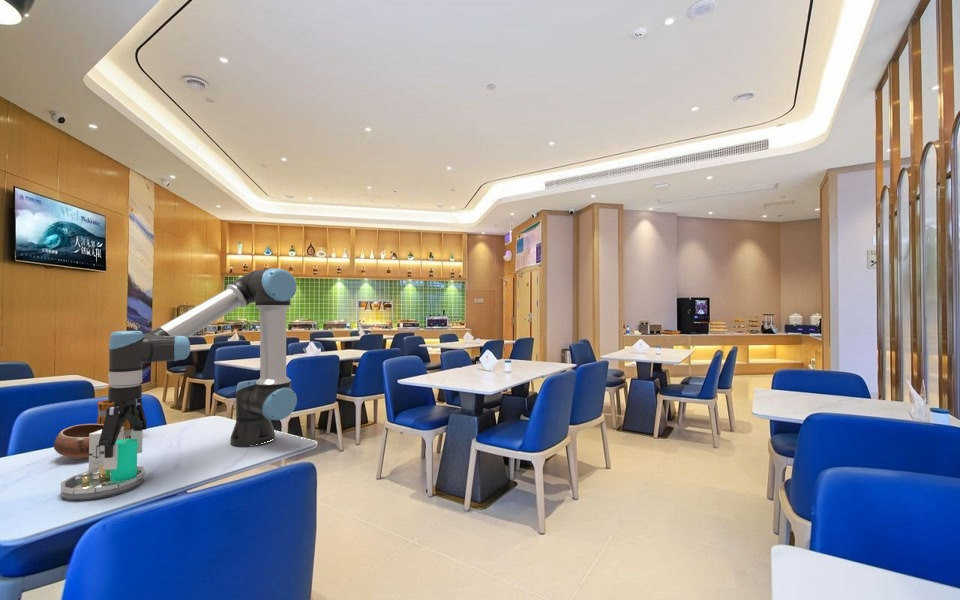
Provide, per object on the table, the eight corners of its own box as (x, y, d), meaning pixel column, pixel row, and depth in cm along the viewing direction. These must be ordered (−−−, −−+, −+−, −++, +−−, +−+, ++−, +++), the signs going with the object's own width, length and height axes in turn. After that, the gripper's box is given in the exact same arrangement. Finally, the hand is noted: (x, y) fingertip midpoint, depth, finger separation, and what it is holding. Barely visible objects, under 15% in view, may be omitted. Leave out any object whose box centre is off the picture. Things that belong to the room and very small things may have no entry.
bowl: (72, 467, 143) (73, 435, 143) (42, 461, 148) (43, 430, 148) (126, 452, 157) (126, 423, 157) (97, 447, 163) (97, 419, 163)
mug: (136, 443, 168) (137, 402, 168) (90, 447, 162) (90, 405, 163) (148, 429, 186) (149, 393, 186) (107, 433, 180) (107, 395, 180)
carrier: (155, 473, 138) (156, 453, 138) (123, 498, 120) (124, 475, 121) (86, 478, 134) (87, 457, 134) (43, 504, 116) (43, 480, 117)
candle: (122, 483, 125) (123, 439, 125) (104, 481, 126) (105, 438, 126) (142, 475, 131) (143, 433, 131) (124, 473, 132) (125, 432, 132)
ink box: (107, 462, 148) (108, 425, 148) (124, 461, 148) (124, 425, 148) (87, 471, 139) (88, 433, 139) (104, 471, 140) (105, 433, 140)
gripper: (133, 378, 140) (131, 447, 140) (82, 394, 116) (80, 477, 115) (160, 378, 142) (159, 446, 141) (116, 393, 117) (114, 475, 117)
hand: (124, 460), depth 128 cm, fingers open, 13 cm apart
